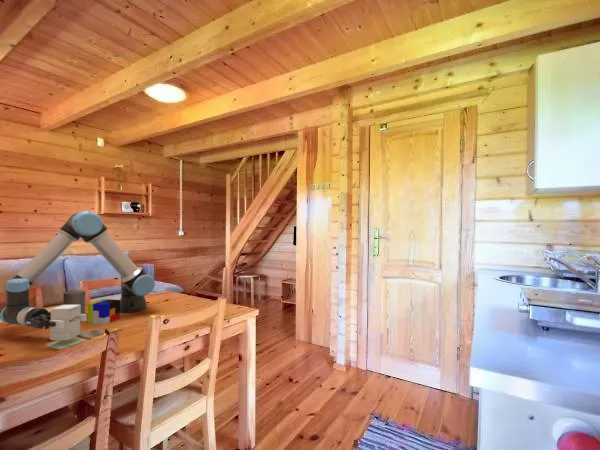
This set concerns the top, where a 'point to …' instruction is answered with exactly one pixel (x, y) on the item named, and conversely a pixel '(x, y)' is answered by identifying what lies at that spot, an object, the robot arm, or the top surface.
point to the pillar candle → (75, 298)
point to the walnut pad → (92, 333)
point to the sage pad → (65, 343)
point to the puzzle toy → (103, 311)
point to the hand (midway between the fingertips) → (74, 321)
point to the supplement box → (66, 322)
